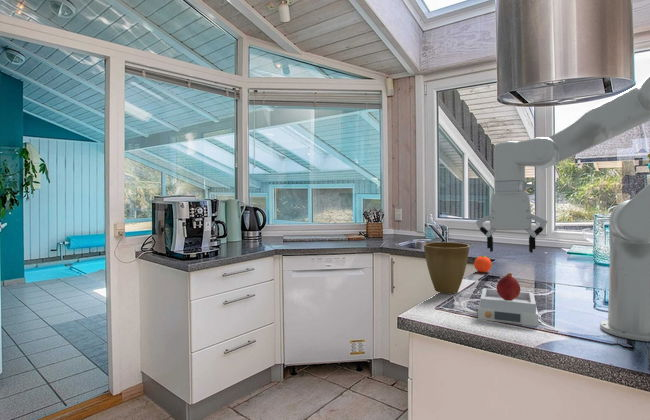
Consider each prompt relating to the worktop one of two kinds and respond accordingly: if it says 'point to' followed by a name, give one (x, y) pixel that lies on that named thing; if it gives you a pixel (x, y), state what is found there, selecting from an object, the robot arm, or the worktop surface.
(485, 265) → the clementine
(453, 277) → the plant pot
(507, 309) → the scale
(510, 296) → the onion
